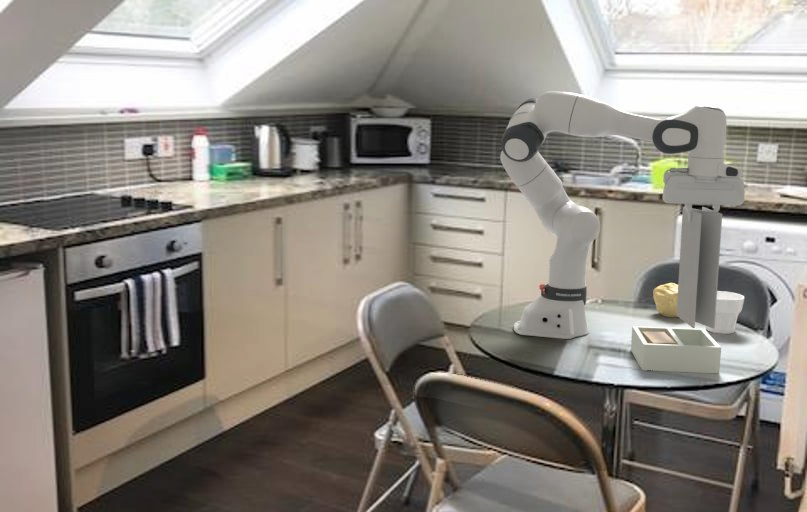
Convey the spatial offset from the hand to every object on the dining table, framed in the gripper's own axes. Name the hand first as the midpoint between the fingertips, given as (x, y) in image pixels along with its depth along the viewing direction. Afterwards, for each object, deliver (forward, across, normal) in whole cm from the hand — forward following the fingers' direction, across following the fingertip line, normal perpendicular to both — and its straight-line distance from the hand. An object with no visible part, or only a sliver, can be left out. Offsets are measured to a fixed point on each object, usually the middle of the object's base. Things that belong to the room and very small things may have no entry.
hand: (701, 221), depth 227 cm
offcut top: (+35, -9, 0) cm, 36 cm away
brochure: (+27, 0, 0) cm, 27 cm away
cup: (+38, +17, +35) cm, 55 cm away
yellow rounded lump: (+39, +6, +52) cm, 65 cm away
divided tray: (+38, -4, 0) cm, 39 cm away
